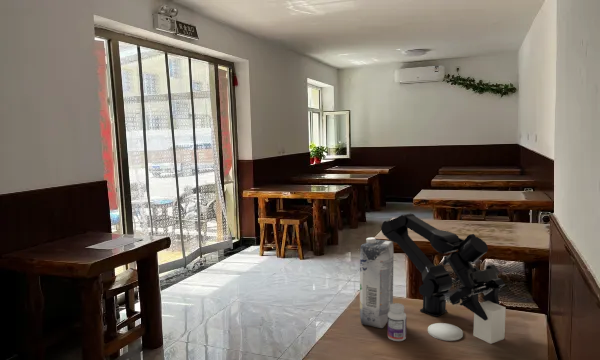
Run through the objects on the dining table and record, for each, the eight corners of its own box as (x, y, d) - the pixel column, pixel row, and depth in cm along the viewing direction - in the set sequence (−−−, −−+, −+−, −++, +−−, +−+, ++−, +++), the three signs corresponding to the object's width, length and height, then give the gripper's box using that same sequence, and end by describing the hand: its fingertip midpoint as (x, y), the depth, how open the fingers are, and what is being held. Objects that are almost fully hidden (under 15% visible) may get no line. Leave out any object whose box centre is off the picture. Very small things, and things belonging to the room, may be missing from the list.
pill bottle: (394, 331, 138) (394, 300, 136) (409, 337, 134) (410, 305, 132) (383, 337, 134) (384, 305, 133) (399, 343, 130) (399, 311, 129)
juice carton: (394, 317, 147) (395, 236, 144) (384, 330, 138) (386, 244, 135) (368, 312, 151) (369, 233, 148) (357, 325, 142) (357, 240, 139)
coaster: (421, 332, 137) (421, 329, 137) (439, 322, 143) (439, 320, 143) (451, 344, 129) (451, 341, 129) (469, 333, 136) (469, 330, 136)
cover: (473, 335, 134) (474, 304, 133) (486, 330, 137) (487, 300, 136) (490, 343, 129) (492, 311, 128) (504, 338, 132) (505, 307, 131)
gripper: (458, 261, 129) (490, 312, 121) (500, 251, 138) (533, 298, 130) (436, 280, 137) (465, 329, 129) (478, 269, 146) (507, 314, 138)
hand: (493, 317), depth 131 cm, fingers closed on cover, 6 cm apart
